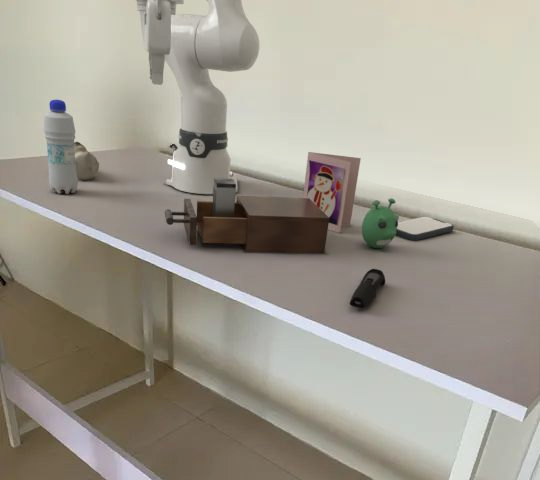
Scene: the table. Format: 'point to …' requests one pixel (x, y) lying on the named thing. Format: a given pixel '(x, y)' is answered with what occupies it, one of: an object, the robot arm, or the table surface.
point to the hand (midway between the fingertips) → (155, 82)
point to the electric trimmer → (367, 288)
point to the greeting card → (332, 186)
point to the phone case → (422, 228)
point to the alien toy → (380, 225)
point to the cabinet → (284, 225)
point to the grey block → (223, 197)
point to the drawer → (211, 223)
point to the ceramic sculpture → (85, 162)
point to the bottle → (60, 148)
